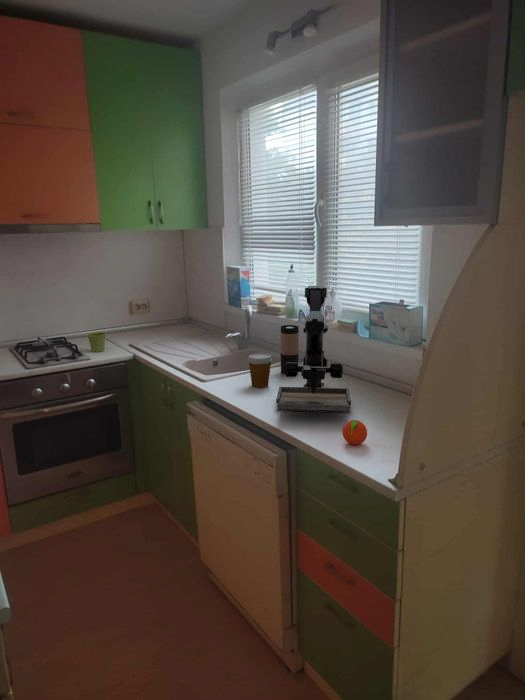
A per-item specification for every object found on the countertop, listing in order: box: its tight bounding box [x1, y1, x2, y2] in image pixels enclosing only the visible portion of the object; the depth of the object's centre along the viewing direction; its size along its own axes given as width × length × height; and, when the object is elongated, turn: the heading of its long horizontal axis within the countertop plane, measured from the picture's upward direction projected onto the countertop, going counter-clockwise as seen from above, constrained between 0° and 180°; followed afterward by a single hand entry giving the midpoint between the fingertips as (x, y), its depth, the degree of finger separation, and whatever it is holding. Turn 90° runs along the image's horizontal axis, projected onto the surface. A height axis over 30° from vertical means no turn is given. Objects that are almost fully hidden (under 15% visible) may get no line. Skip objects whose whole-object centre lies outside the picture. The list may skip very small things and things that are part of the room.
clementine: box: [341, 419, 368, 446], centre depth 145 cm, size 8×7×7 cm
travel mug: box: [279, 324, 300, 376], centre depth 217 cm, size 8×8×20 cm
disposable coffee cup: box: [247, 353, 273, 389], centre depth 200 cm, size 10×10×12 cm
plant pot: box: [86, 331, 107, 353], centre depth 260 cm, size 9×9×9 cm
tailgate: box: [278, 400, 349, 411], centre depth 166 cm, size 2×22×12 cm
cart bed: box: [275, 386, 352, 413], centre depth 179 cm, size 14×25×4 cm, turn 84°
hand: (313, 393), depth 167 cm, fingers closed
